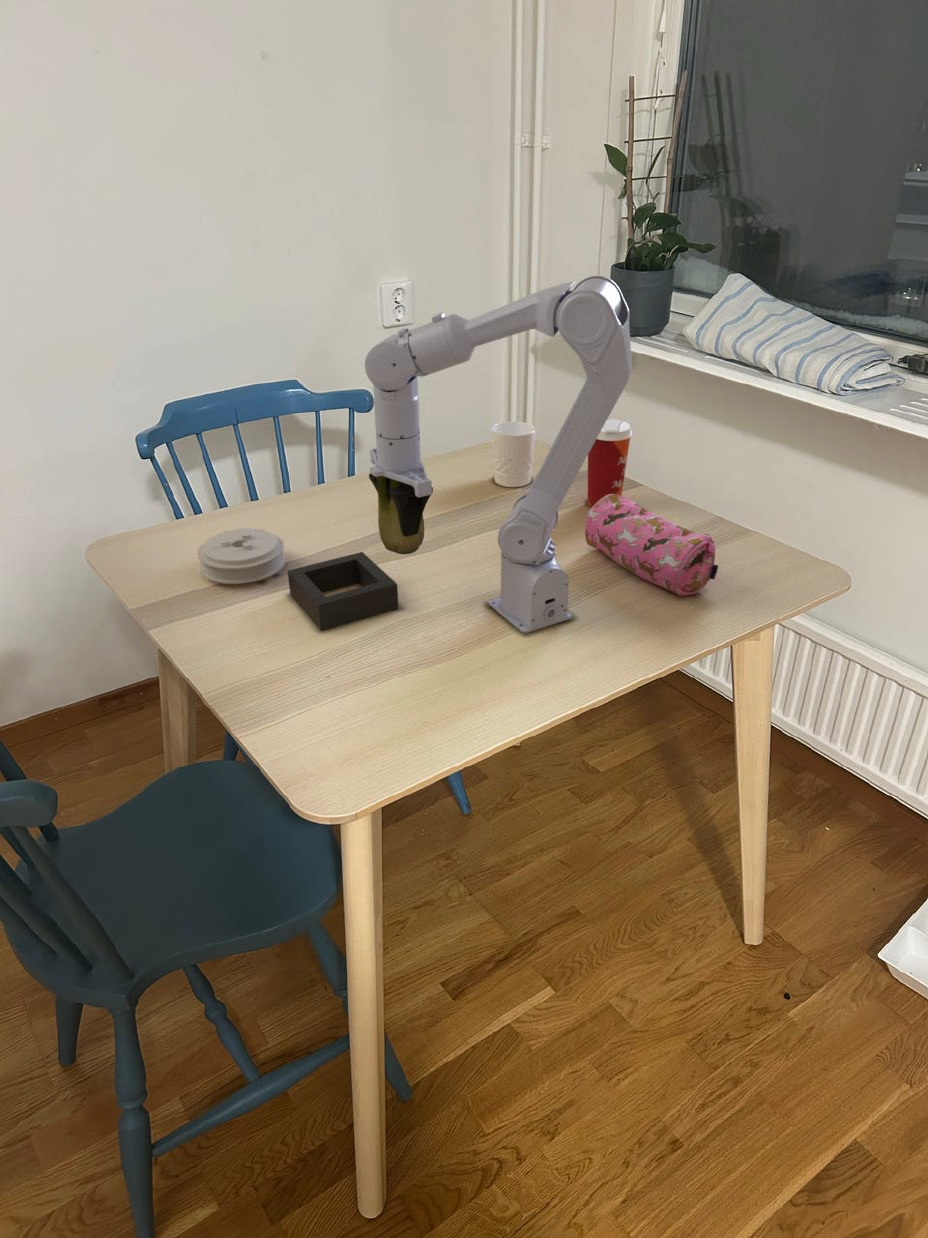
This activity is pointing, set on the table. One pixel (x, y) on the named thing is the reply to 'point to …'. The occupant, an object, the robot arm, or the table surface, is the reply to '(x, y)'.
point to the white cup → (513, 453)
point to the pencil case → (651, 545)
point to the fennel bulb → (394, 522)
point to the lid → (241, 556)
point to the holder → (345, 606)
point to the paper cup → (608, 460)
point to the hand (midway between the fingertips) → (402, 527)
